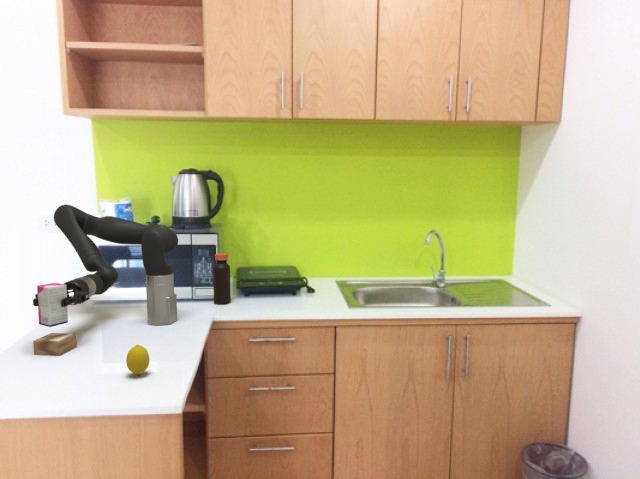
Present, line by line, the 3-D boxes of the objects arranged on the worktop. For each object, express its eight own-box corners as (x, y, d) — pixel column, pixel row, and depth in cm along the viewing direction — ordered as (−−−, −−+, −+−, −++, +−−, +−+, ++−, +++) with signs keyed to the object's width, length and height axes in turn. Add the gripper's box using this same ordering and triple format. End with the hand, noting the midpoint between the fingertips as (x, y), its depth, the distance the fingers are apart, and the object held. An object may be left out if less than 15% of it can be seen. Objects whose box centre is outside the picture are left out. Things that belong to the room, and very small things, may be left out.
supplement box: (69, 322, 148) (66, 284, 146) (49, 327, 143) (46, 288, 142) (58, 319, 151) (55, 281, 150) (38, 324, 146) (35, 285, 145)
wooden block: (77, 346, 151) (76, 333, 151) (59, 356, 143) (58, 341, 143) (52, 345, 152) (51, 332, 152) (34, 354, 145) (33, 340, 144)
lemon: (130, 371, 132) (129, 341, 131) (152, 370, 133) (151, 341, 132) (124, 379, 127) (122, 348, 126) (146, 378, 127) (145, 348, 126)
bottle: (224, 300, 211) (223, 252, 208) (234, 302, 206) (233, 254, 204) (210, 302, 206) (209, 254, 204) (219, 305, 201) (218, 256, 199)
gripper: (56, 278, 160) (23, 289, 144) (100, 278, 160) (72, 290, 143) (57, 301, 161) (25, 315, 145) (101, 302, 161) (73, 316, 144)
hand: (48, 303), depth 144 cm, fingers closed on supplement box, 7 cm apart
